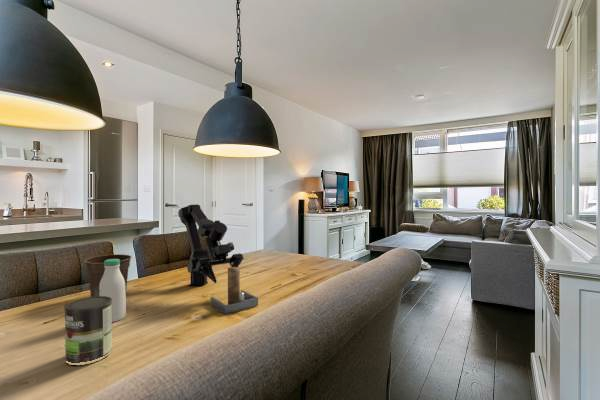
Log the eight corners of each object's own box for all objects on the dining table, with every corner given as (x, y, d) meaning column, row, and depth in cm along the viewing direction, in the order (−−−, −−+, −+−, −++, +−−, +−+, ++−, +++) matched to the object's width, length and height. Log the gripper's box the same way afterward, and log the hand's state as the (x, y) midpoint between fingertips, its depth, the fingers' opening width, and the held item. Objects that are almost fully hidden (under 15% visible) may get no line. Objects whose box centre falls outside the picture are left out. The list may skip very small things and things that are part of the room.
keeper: (210, 305, 119) (210, 289, 118) (242, 297, 127) (242, 282, 127) (225, 314, 109) (225, 297, 109) (258, 305, 118) (258, 290, 118)
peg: (227, 307, 116) (227, 269, 116) (228, 303, 121) (228, 267, 120) (239, 306, 117) (239, 269, 117) (239, 302, 121) (239, 266, 121)
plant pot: (138, 297, 128) (137, 258, 127) (91, 308, 116) (90, 264, 115) (124, 289, 139) (123, 252, 138) (80, 298, 127) (79, 258, 126)
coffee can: (83, 370, 75) (82, 311, 75) (55, 361, 79) (54, 306, 79) (121, 350, 85) (121, 298, 85) (95, 343, 89) (94, 293, 88)
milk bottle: (131, 315, 108) (130, 258, 108) (111, 324, 101) (110, 263, 101) (114, 313, 111) (113, 256, 110) (93, 321, 104) (92, 261, 103)
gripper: (198, 238, 120) (210, 273, 112) (241, 234, 132) (255, 265, 124) (190, 255, 127) (201, 289, 119) (232, 249, 139) (245, 280, 131)
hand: (226, 280), depth 123 cm, fingers open, 9 cm apart
